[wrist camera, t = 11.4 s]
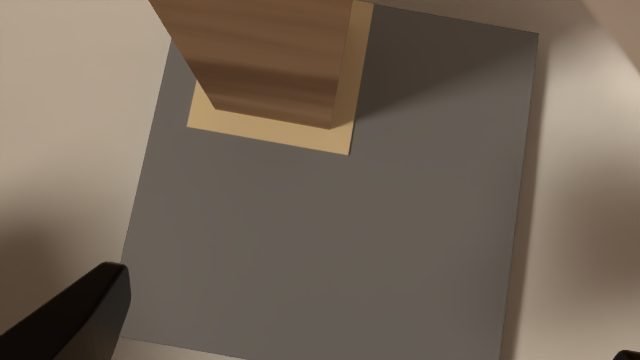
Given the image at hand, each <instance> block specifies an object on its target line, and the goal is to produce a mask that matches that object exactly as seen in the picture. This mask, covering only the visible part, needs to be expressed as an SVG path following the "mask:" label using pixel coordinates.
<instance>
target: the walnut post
mask: <svg viewBox="0 0 640 360" xmlns="http://www.w3.org/2000/svg"><path fill="white" fill-rule="evenodd" d="M149 2H150V3H151V5H152V7H153V8H154V10H155V12H156V13H157V15H158V17H159V18H160V20H161V21H162V23H163V25H164V26H165V28H166V30H167V31H168V33H169V35H170V36H171V38H172V40H173V41H174V43H175V44H176V46H177V48H178V49H179V51H180V53H181V54H182V56H183V58H184V59H185V61H186V62H187V64H188V66H189V67H190V69H191V71H192V72H193V74H194V76H195V77H196V79H197V80H198V82H199V84H200V85H201V87H202V89H203V90H204V92H205V94H206V95H207V97H208V99H209V100H210V102H211V103H212V105H213V107H214V108H215V109H216V110H222V111H227V112H233V113H238V114H244V115H250V116H255V117H261V118H266V119H272V120H277V121H283V122H289V123H294V124H300V125H305V126H311V127H317V128H322V129H328V130H330V125H331V120H332V114H333V108H334V103H335V97H336V92H337V86H338V81H339V75H340V69H341V64H342V58H343V53H344V47H345V42H346V36H347V30H348V25H349V19H350V14H351V8H352V2H353V0H149Z"/></svg>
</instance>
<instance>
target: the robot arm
mask: <svg viewBox="0 0 640 360" xmlns="http://www.w3.org/2000/svg"><path fill="white" fill-rule="evenodd" d="M130 303H131V286H130V277H129V270H128V267H127V266H126V265H124V264H120V263H114V262H103V263H101V264H99V265H98V266H96V267H95V268H94V269H92V270H91V271H90V272H88V273H87V274H85V275H84V276H83V277H81V278H80V279H78V280H77V281H76V282H74V283H73V284H71V285H70V286H69V287H67V288H66V289H64V290H63V291H62V292H60V293H59V294H57V295H56V296H55V297H53V298H52V299H51V300H49V301H48V302H46V303H45V304H44V305H42V306H41V307H39V308H38V309H37V310H35V311H34V312H32V313H31V314H30V315H28V316H27V317H25V318H24V319H23V320H21V321H20V322H18V323H17V324H16V325H14V326H13V327H12V328H10V329H9V330H7V331H6V332H5V333H3V334H2V335H0V360H111V358H112V355H113V352H114V349H115V347H116V344H117V341H118V338H119V335H120V332H121V330H122V327H123V324H124V321H125V318H126V316H127V313H128V310H129V307H130ZM613 360H640V352H636V351H630V350H622V351H620V352H618V353H617V355H616V356H615V357H614V359H613Z"/></svg>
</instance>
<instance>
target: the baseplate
mask: <svg viewBox="0 0 640 360" xmlns="http://www.w3.org/2000/svg"><path fill="white" fill-rule="evenodd" d="M538 36H539V34H538V33H533V32H527V31H521V30H516V29H510V28H504V27H499V26H493V25H487V24H482V23H476V22H470V21H465V20H459V19H454V18H448V17H442V16H437V15H431V14H425V13H420V12H414V11H408V10H403V9H397V8H391V7H386V6H380V5H375V4H374V3H369V2H364V1H358V0H353V2H352V8H351V14H350V19H349V25H348V30H347V36H346V42H345V47H344V53H343V58H342V64H341V69H340V75H339V81H338V86H337V92H336V97H335V103H334V108H333V114H332V120H331V125H330V130H328V129H322V128H317V127H311V126H305V125H300V124H294V123H289V122H283V121H277V120H272V119H266V118H261V117H255V116H250V115H244V114H238V113H233V112H227V111H222V110H216V109H215V108H214V107H213V105H212V103H211V102H210V100H209V99H208V97H207V95H206V94H205V92H204V90H203V89H202V87H201V85H200V84H199V82H198V80H197V79H196V77H195V76H194V74H193V72H192V71H191V69H190V67H189V66H188V64H187V62H186V61H185V59H184V58H183V56H182V54H181V53H180V51H179V49H178V48H177V46H176V44H175V43H174V41H173V40H172V39H171V43H170V48H169V52H168V56H167V61H166V65H165V70H164V74H163V78H162V83H161V87H160V91H159V96H158V100H157V104H156V109H155V113H154V118H153V122H152V126H151V131H150V135H149V139H148V144H147V148H146V153H145V157H144V161H143V166H142V170H141V174H140V179H139V183H138V187H137V192H136V196H135V201H134V205H133V209H132V214H131V218H130V222H129V227H128V231H127V235H126V240H125V244H124V249H123V253H122V257H121V262H120V264H124V265H126V266H127V267H128V270H129V277H130V286H131V303H130V307H129V310H128V313H127V316H126V318H125V321H124V324H123V327H122V330H121V332H120V335H119V337H124V338H129V339H135V340H141V341H146V342H152V343H157V344H163V345H169V346H174V347H180V348H185V349H191V350H197V351H202V352H208V353H213V354H219V355H225V356H230V357H236V358H241V359H247V360H499V357H500V349H501V341H502V332H503V324H504V316H505V308H506V299H507V291H508V283H509V275H510V266H511V258H512V250H513V242H514V234H515V225H516V217H517V209H518V201H519V192H520V184H521V176H522V168H523V159H524V151H525V143H526V135H527V126H528V118H529V110H530V102H531V93H532V85H533V77H534V69H535V60H536V52H537V44H538Z"/></svg>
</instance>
